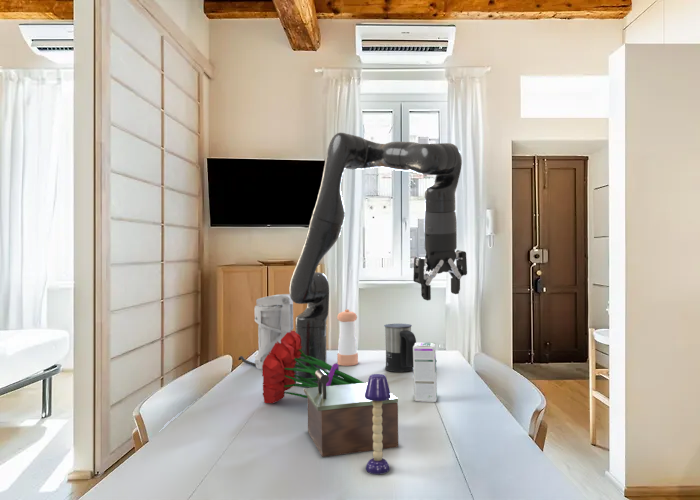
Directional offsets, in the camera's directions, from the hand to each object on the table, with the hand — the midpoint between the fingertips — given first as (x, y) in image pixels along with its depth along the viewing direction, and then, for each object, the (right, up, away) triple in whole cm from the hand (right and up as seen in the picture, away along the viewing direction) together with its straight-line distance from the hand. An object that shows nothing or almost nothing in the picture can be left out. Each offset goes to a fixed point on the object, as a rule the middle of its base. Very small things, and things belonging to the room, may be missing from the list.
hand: (441, 296), depth 118 cm
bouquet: (-29, -29, +7) cm, 42 cm away
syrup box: (-2, -28, +12) cm, 31 cm away
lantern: (-48, -29, +52) cm, 77 cm away
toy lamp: (-17, -28, -30) cm, 45 cm away
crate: (-22, -28, -16) cm, 39 cm away
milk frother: (-2, -29, +46) cm, 54 cm away
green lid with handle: (-22, -19, -16) cm, 34 cm away
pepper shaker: (-23, -29, +55) cm, 66 cm away
